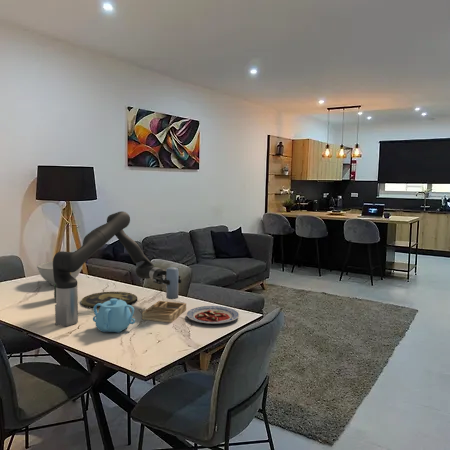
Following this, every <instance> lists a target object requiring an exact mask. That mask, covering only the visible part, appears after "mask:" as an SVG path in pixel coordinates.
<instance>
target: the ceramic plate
mask: <svg viewBox="0 0 450 450" xmlns="http://www.w3.org/2000/svg"><path fill="white" fill-rule="evenodd" d="M186 316H187V318H188V319H189V320H191V321H193V322H197V323H201V324H202V323H203V324H209V325H211V324H214V325H215V324H216V325H217V324H225V323H231V322H233V321H236V320H237V319H239V317H240V313H239V311H237V310H236V309H235V308H231V307H226V306H218V305H204V306H197V307H193V308H192V309H190V310H188V311H187V312H186Z"/></svg>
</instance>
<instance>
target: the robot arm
mask: <svg viewBox="0 0 450 450" xmlns="http://www.w3.org/2000/svg"><path fill="white" fill-rule="evenodd" d="M130 223H131V217H130V215H129V214H128V212H126V211H117V212H114V213H112V214H109V215H108V216H107V218H106V223H104V224H101V225H99V226H97V227H96V228H94V229H92V230H91V231H90V232H88V233H87V234H86V235H85V237H84V238H83V240H82V245H81V246H80V248H78V249H76V250H75V251H64V250H61V251H58V252H56V253H55V255H54V257H53V259H52V261H53V275H54V281H55V284H56V299H55V301H56V304H55V305H54V314H55V315H54V316H55V326H61V327H69V326H73V325H75V324H77V323H79V310H78V309H79V307H78V306H79V304H78V303H79V302H78V301H79V300H78V280H77V278H74V277H72V276H71V275H70V273H72V272H75V271H77V270H78V269H79V268H80V267H81V266H82V265H84V264H85V263H86V262H87V260H89V259H90V258H91V257H92V256H93V255H94V254H95V253H97V251H99V250H100V249H102V248H103V247H104V246H105V245H106V244H107V243H108V242H109V241H110V240H111V239H113V238H114V236H115V237H116V238H117V239H118V241H119V242H120V243H121V244H122V245H123V247H124V248H125V249H126V251H127V254H128V255H129V257H130V258H131V260H132V262H133V263H134V264H136V263H140V262H143V263H141V264H140V265H138V266H137V267H136V268H135V274H136V276H137V277H139V278H141V279H146V280H147V279H150V280H152V281H153V283H155V284H158V285H166V284H167V285H170V281H169V280H167V279H166V272H167V269H163V268H161V267H157V266H155V265H154V263H153V262H152V261H151V260H149V258H148V257H147V256H146V255H145V253H144V252H143V250H142V248H141V247H140V245H139V244H138V243H137V242H136V241H135V240H134V239H133V238H132V237H130V236H128V234H127V233H125V231H124V229H126V228H127V227H128V226H129V225H130ZM82 267H83V266H82ZM181 283H182V278H181V275H179V274H178V284H181Z"/></svg>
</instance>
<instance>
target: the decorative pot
mask: <svg viewBox="0 0 450 450" xmlns="http://www.w3.org/2000/svg"><path fill="white" fill-rule="evenodd" d="M97 306H101V307H100V309H96V307H97ZM92 309H93V313H94V316H93V317H92V321H93V322H94V323H95V327H96V328H97V329H98V330H99V331H100V332H102V333H103V332H104V333H106V332H111V333H114V332H115V333H122V331H123V330H126V329H127V328H128V327H129V326H130V325H134V324H135V323H136V319H135V318H133V317H134V313H135V307H134V306H133V305H127V303H126V302H125V301H122V300H117V299H115V298H114V299H110V301H106V302H104V303H103V304H101V303H98V304H96V305H95V306H94V308H92Z"/></svg>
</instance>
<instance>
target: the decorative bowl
mask: <svg viewBox="0 0 450 450" xmlns="http://www.w3.org/2000/svg"><path fill="white" fill-rule="evenodd" d="M83 265H84V264H83ZM83 265H82V266H81V267H80V268H79V269H78V270H77V271H75V272H72V273H71V276H72V277H74V278H75V279H77V278H78V276H79V274H80V273H81V271H82V268H83ZM36 269H37V270H38V273H39V274H40V276H41V277H42V279H44V280H45V281H46V282H48V283H50V285H52V286H54V275H53V260H52V261H47V262H42V263H39V264H37V266H36Z"/></svg>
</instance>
